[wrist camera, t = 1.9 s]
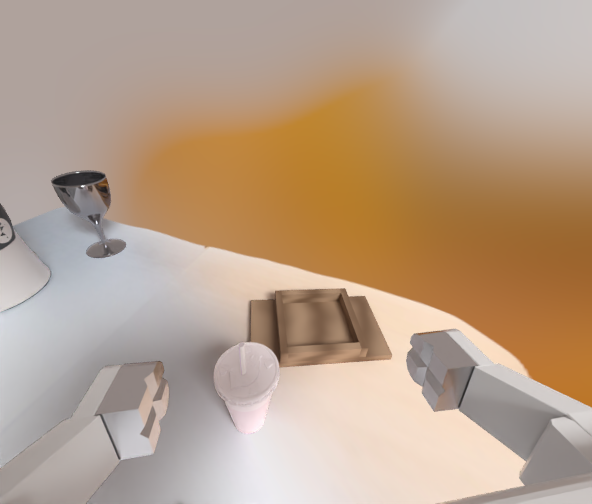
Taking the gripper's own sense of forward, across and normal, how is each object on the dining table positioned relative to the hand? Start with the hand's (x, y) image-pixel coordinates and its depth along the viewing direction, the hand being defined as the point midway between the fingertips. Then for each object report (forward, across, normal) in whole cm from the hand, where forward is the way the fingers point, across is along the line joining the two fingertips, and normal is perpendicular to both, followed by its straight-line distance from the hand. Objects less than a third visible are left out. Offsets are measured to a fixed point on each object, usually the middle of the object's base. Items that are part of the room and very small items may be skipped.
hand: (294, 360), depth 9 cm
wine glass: (+51, +32, +16) cm, 63 cm away
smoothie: (+15, +3, +24) cm, 29 cm away
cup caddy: (+27, -7, +22) cm, 36 cm away
